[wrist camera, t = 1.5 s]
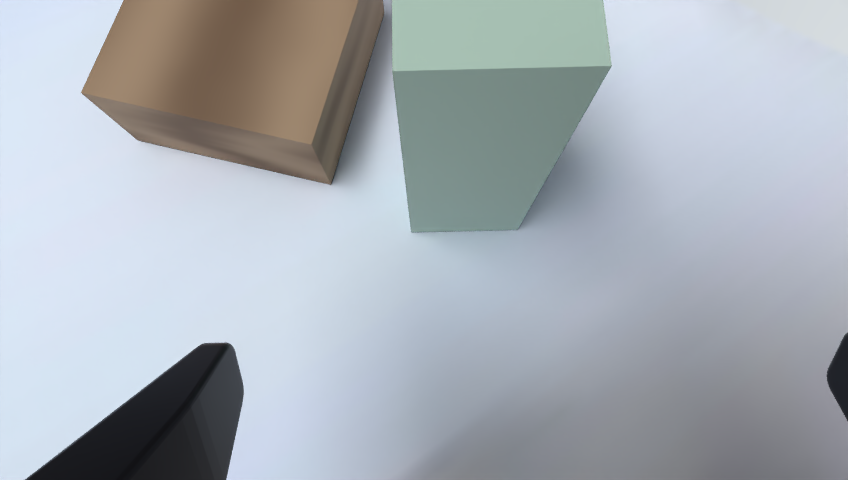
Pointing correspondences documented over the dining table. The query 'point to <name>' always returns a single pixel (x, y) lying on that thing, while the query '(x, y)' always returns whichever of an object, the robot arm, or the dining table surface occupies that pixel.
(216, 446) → the robot arm
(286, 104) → the walnut block
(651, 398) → the dining table surface
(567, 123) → the tall green block
